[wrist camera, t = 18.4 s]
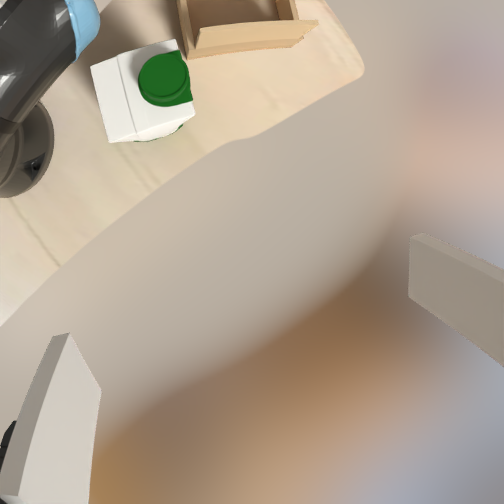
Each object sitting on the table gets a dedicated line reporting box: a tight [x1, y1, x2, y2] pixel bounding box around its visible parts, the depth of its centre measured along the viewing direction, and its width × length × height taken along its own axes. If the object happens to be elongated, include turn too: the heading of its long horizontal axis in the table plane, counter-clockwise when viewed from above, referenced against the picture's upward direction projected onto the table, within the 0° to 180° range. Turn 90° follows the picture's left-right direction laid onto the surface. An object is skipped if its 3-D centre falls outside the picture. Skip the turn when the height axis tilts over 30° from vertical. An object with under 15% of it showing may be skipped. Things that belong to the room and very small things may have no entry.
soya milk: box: [90, 39, 195, 143], centre depth 31 cm, size 9×9×20 cm
